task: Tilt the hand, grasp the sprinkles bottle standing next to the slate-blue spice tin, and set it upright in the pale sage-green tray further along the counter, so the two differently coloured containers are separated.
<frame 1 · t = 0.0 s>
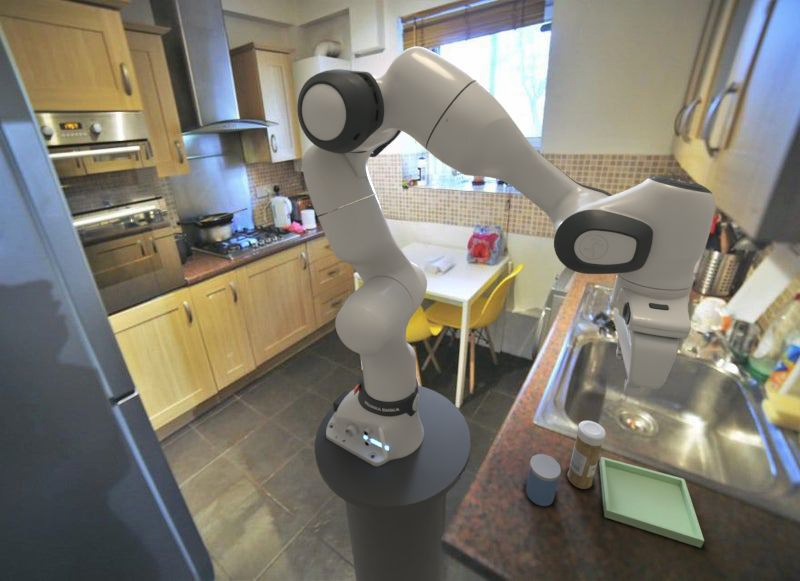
hand: (625, 374, 58), 28 cm above the worktop, tool pointing down, fingers open, 8 cm apart
sprinkles bottle: (579, 480, 72), on the worktop
sage tray: (644, 500, 68), on the worktop
blue tin: (539, 493, 70), on the worktop
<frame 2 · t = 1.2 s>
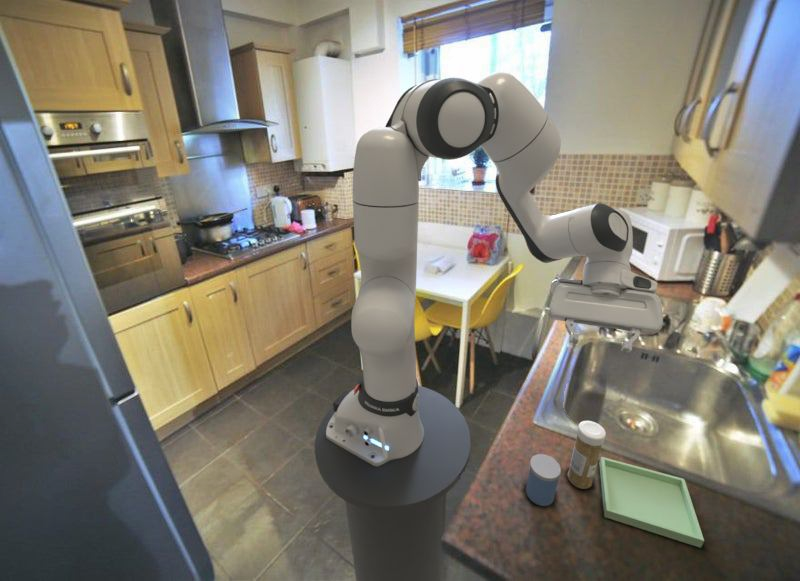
hand: (599, 347, 72), 24 cm above the worktop, tool tilted 45°, fingers open, 8 cm apart
nothing on the worktop moved.
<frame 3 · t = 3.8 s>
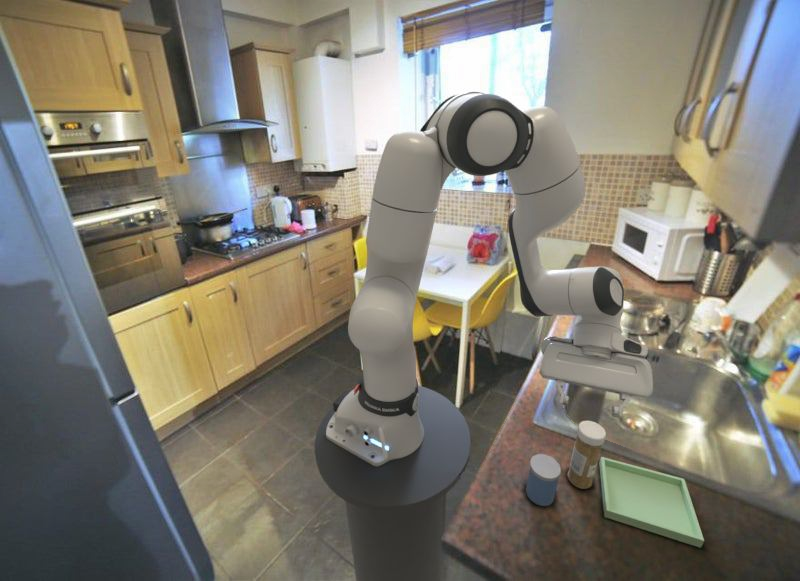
hand: (589, 410, 72), 12 cm above the worktop, tool tilted 45°, fingers open, 8 cm apart
nothing on the worktop moved.
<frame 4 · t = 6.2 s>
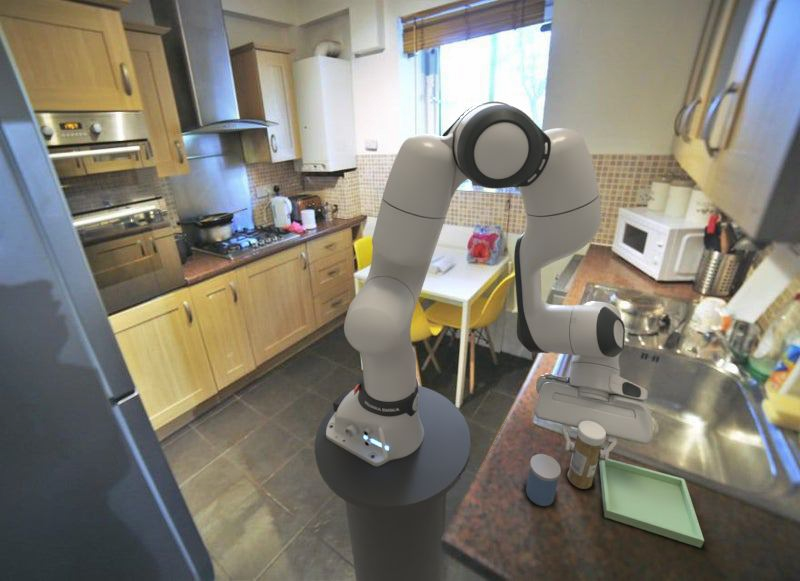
hand: (586, 456, 69), 7 cm above the worktop, tool tilted 45°, fingers closed on sprinkles bottle, 4 cm apart
sprinkles bottle: (579, 480, 72), on the worktop, touching gripper
everything else where it was.
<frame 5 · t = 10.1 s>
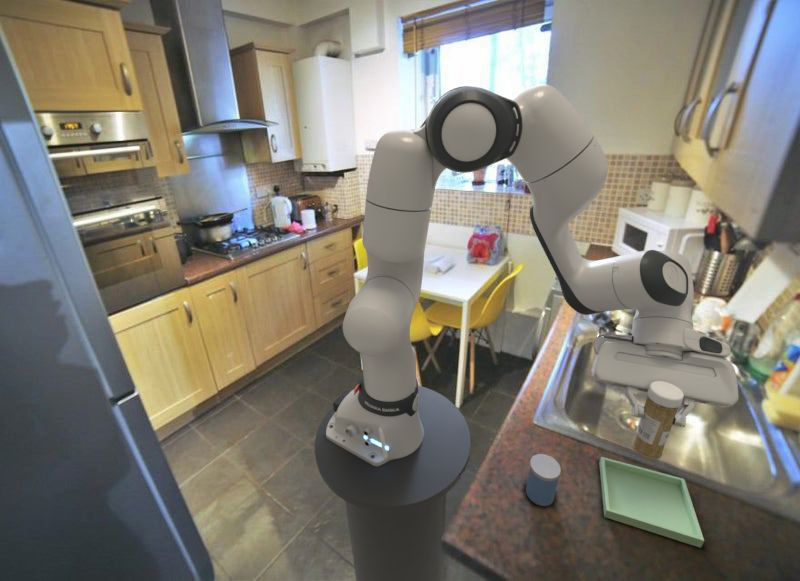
hand: (657, 421, 60), 19 cm above the worktop, tool tilted 45°, fingers closed on sprinkles bottle, 4 cm apart
sprinkles bottle: (645, 450, 64), point 12 cm above the worktop, touching gripper
everything else where it was.
when the fingers open (8 cm above the worktop, at t = 13.8 s): sprinkles bottle stays where it is, resting on sage tray.
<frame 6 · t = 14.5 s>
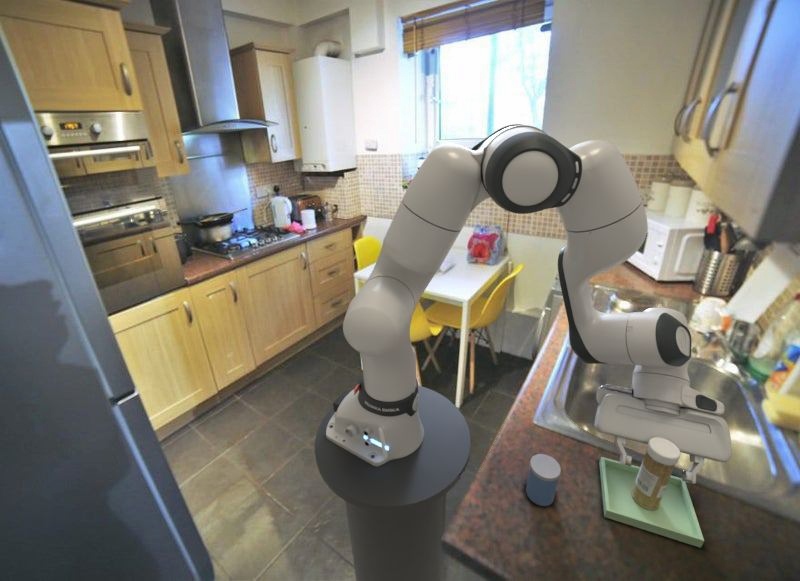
hand: (656, 473, 64), 8 cm above the worktop, tool tilted 45°, fingers open, 8 cm apart
sprinkles bottle: (644, 499, 68), resting on sage tray
everything else where it was.
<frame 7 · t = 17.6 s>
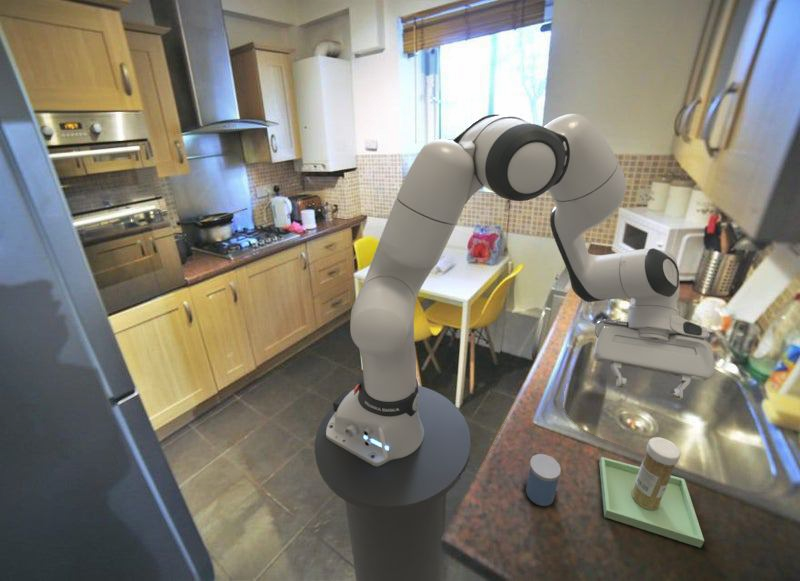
hand: (648, 392, 72), 15 cm above the worktop, tool tilted 45°, fingers open, 8 cm apart
nothing on the worktop moved.
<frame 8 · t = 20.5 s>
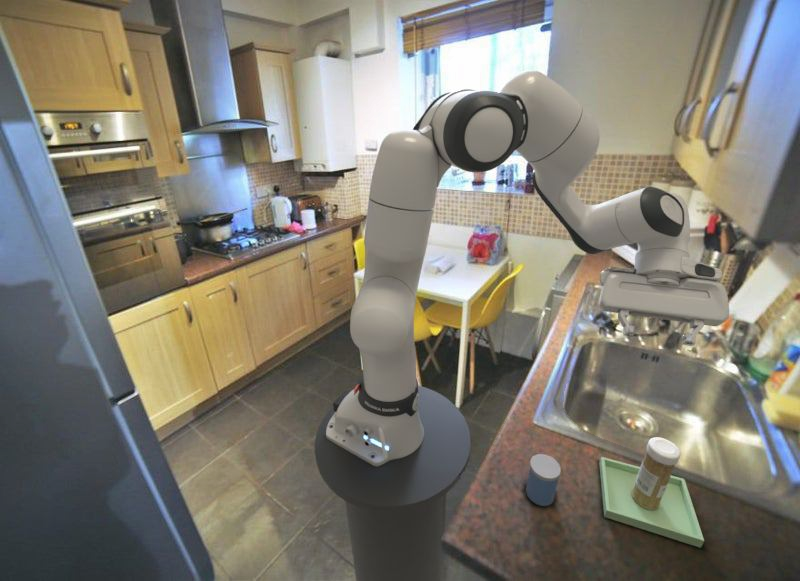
hand: (657, 339, 67), 27 cm above the worktop, tool tilted 45°, fingers open, 8 cm apart
nothing on the worktop moved.
at the end: sprinkles bottle inside the target area in the sage tray (0.0 cm from its centre), point 0.2 cm above the sage tray's base; sprinkles bottle tilted 0°; blue tin moved 0.0 cm from its start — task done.
